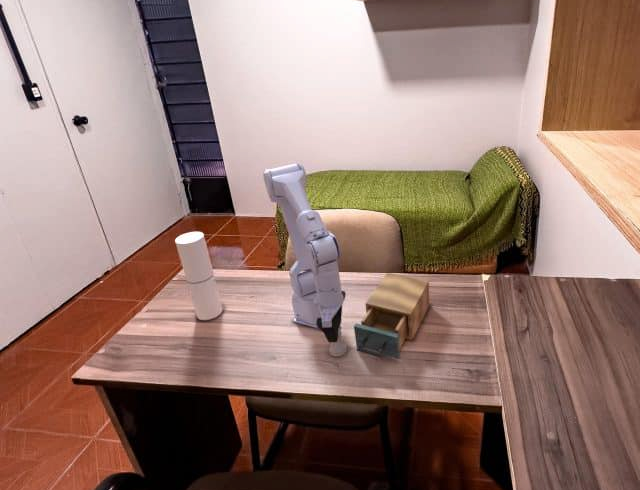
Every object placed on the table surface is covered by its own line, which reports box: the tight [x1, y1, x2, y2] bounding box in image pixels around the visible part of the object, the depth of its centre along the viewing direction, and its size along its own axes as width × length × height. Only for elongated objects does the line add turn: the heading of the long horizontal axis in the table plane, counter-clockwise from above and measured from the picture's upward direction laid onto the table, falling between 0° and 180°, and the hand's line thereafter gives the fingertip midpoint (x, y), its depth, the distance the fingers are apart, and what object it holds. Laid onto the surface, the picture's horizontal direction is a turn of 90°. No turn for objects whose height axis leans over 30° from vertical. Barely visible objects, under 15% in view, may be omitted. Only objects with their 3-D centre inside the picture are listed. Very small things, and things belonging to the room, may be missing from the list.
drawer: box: [353, 307, 409, 360], centre depth 98 cm, size 18×11×7 cm, turn 156°
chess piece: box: [328, 325, 348, 357], centre depth 97 cm, size 4×4×8 cm
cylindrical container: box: [174, 231, 224, 321], centre depth 111 cm, size 7×7×25 cm
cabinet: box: [365, 272, 430, 341], centre depth 107 cm, size 15×13×9 cm
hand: (335, 329), depth 96 cm, fingers open, 7 cm apart
